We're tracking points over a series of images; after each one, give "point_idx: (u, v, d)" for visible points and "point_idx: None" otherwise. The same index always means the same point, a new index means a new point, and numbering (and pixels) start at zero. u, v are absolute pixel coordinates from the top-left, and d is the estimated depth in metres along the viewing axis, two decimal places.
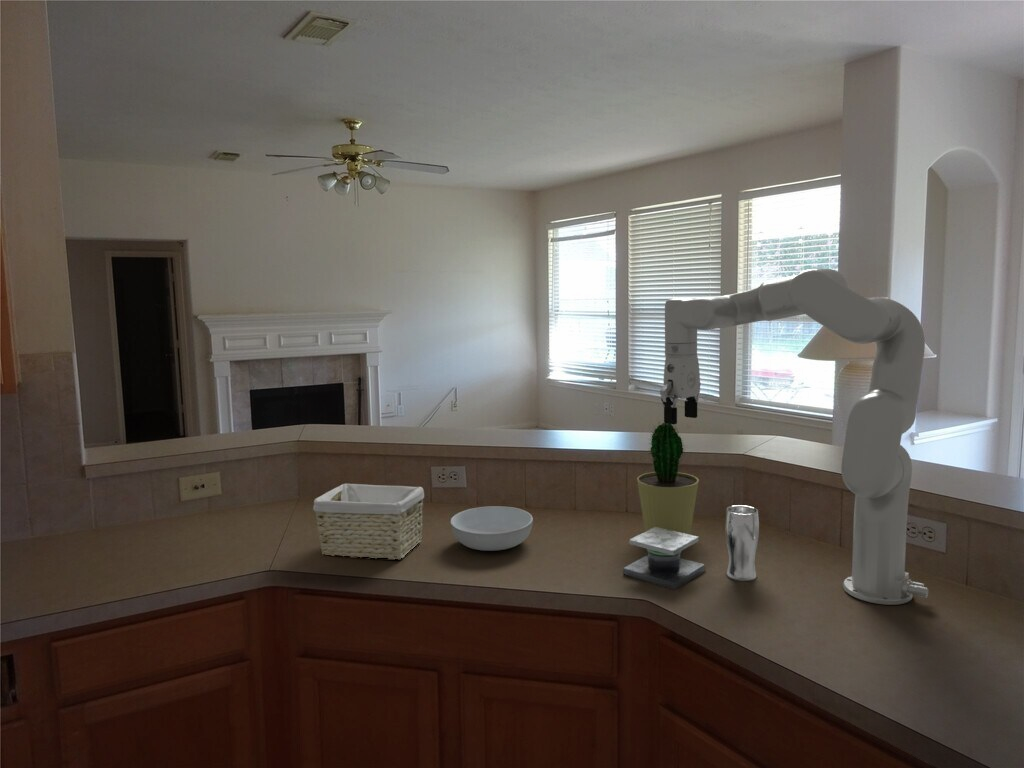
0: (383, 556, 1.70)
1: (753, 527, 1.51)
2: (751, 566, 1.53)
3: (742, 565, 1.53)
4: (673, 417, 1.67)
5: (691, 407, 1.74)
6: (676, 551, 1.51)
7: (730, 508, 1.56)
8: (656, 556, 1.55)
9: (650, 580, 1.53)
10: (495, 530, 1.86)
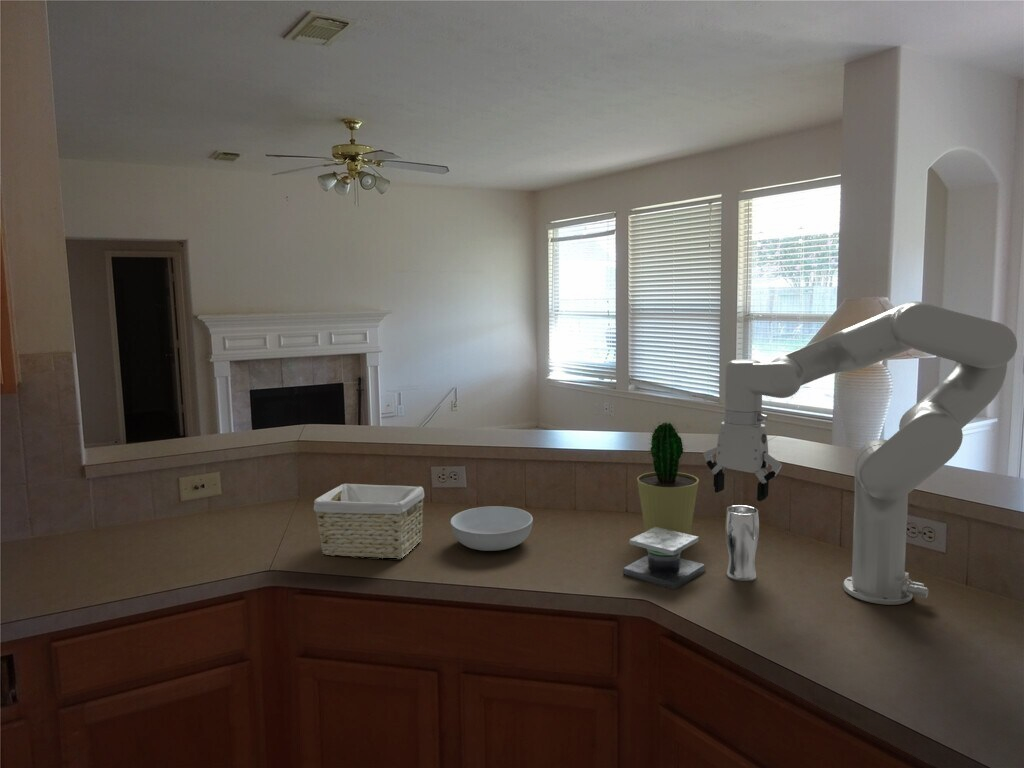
0: (384, 556, 1.71)
1: (753, 527, 1.51)
2: (751, 566, 1.53)
3: (742, 565, 1.53)
4: None
5: (722, 479, 1.56)
6: (676, 551, 1.51)
7: (730, 508, 1.56)
8: (656, 556, 1.55)
9: (650, 580, 1.53)
10: (495, 530, 1.86)
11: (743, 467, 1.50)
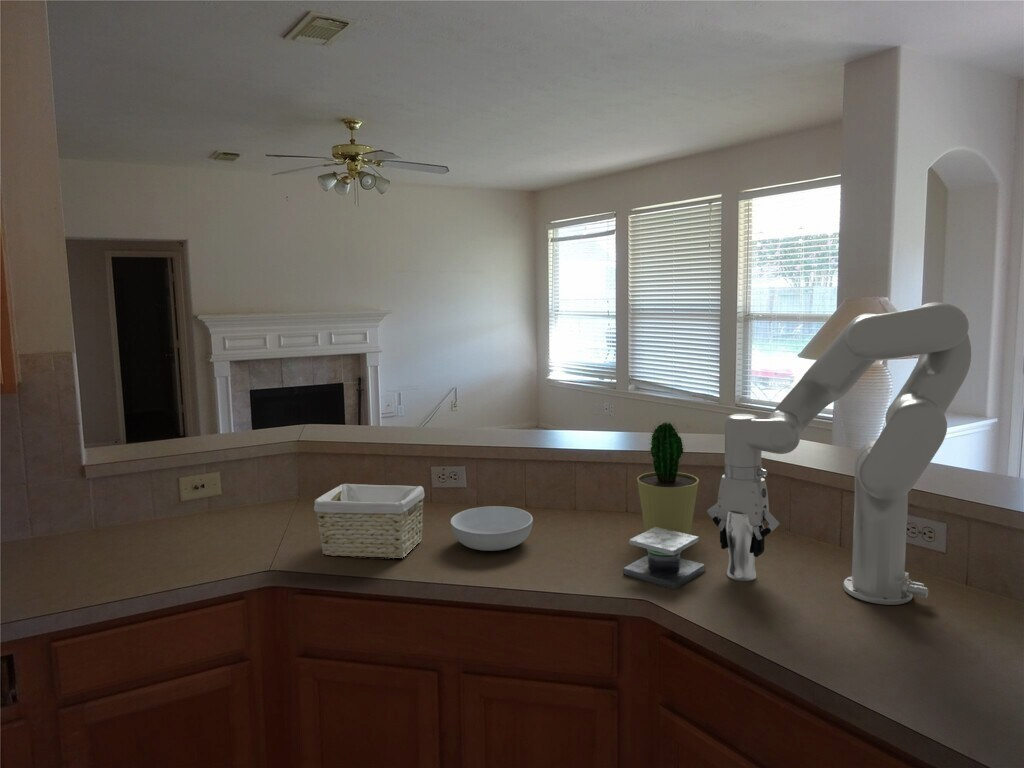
0: (385, 555, 1.71)
1: None
2: (751, 566, 1.53)
3: (742, 565, 1.53)
4: None
5: None
6: (676, 551, 1.51)
7: None
8: (656, 556, 1.55)
9: (650, 580, 1.53)
10: (495, 530, 1.86)
11: None
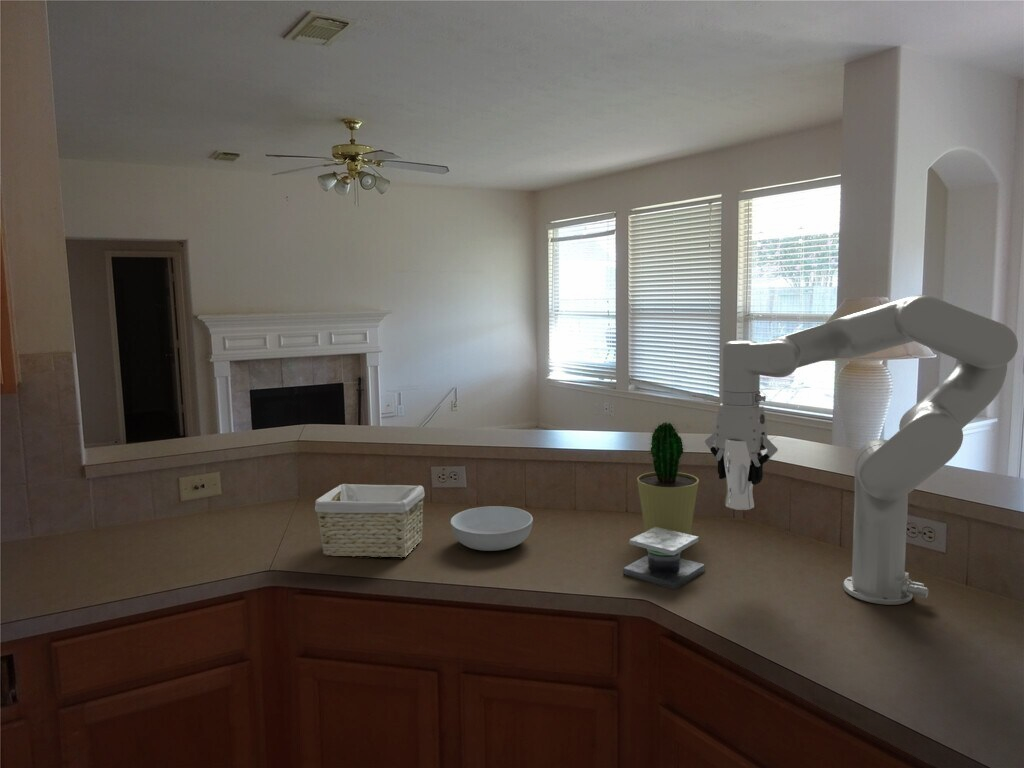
0: (387, 555, 1.71)
1: None
2: (749, 495, 1.51)
3: (740, 494, 1.51)
4: None
5: None
6: (676, 551, 1.51)
7: None
8: (656, 556, 1.55)
9: (650, 580, 1.53)
10: (495, 530, 1.86)
11: None
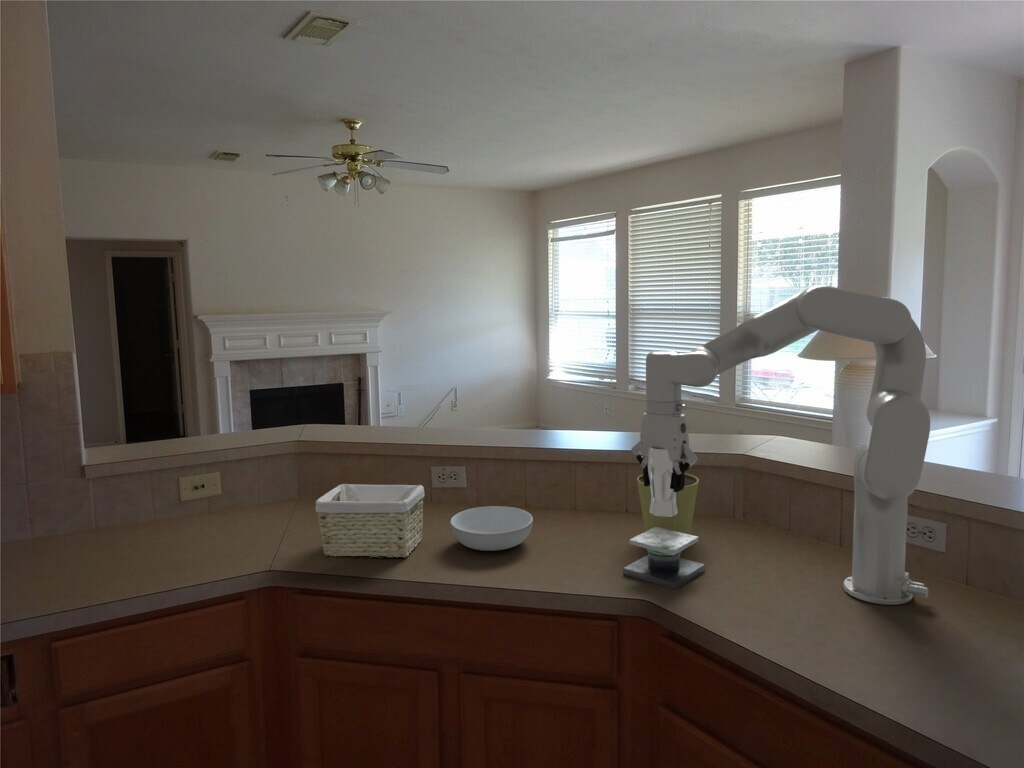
0: (388, 555, 1.71)
1: None
2: (672, 502, 1.54)
3: (663, 501, 1.54)
4: None
5: None
6: (676, 551, 1.51)
7: None
8: (656, 556, 1.55)
9: (650, 580, 1.53)
10: (495, 530, 1.86)
11: None
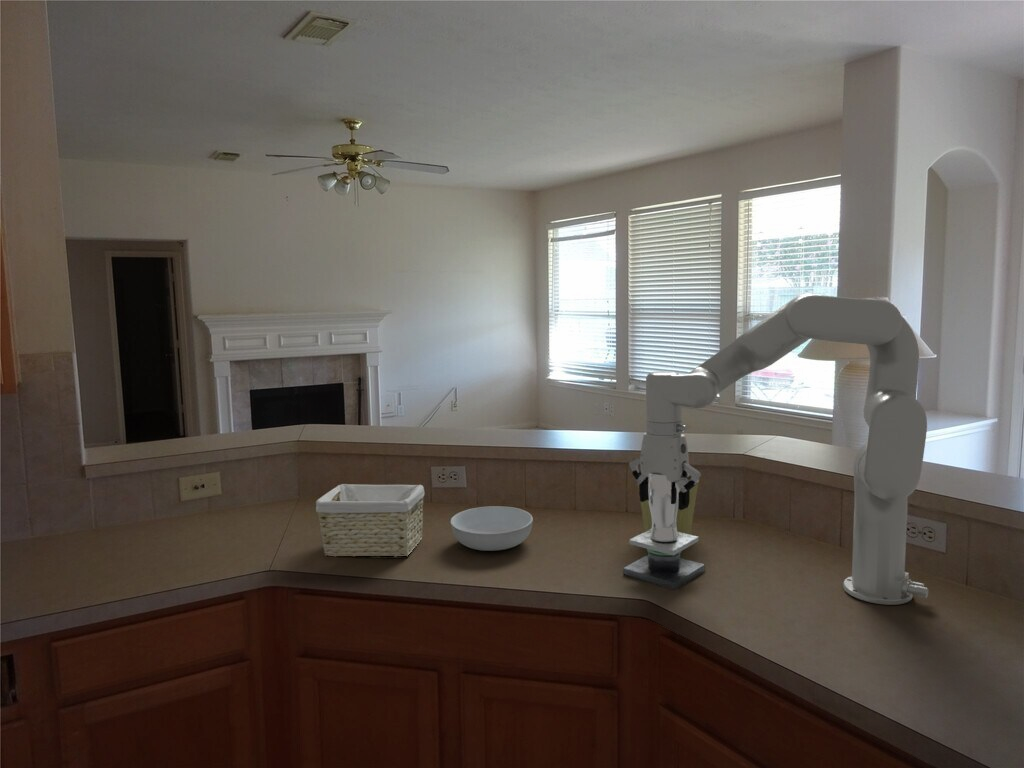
0: (389, 554, 1.71)
1: (672, 487, 1.53)
2: (672, 527, 1.55)
3: (664, 526, 1.55)
4: None
5: None
6: (676, 551, 1.51)
7: None
8: (656, 556, 1.55)
9: (650, 580, 1.53)
10: (495, 530, 1.86)
11: None
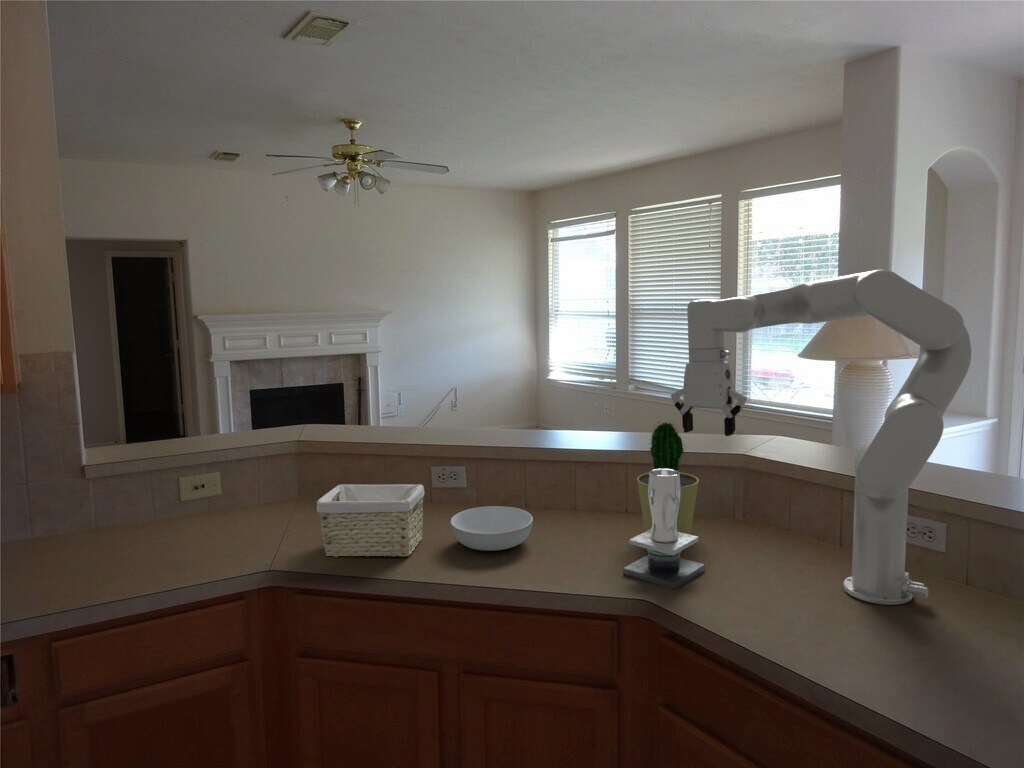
0: (391, 554, 1.72)
1: (674, 489, 1.53)
2: (673, 528, 1.55)
3: (664, 527, 1.55)
4: None
5: (690, 420, 1.59)
6: (676, 551, 1.51)
7: (653, 471, 1.58)
8: (656, 556, 1.55)
9: (650, 580, 1.53)
10: (495, 530, 1.86)
11: (709, 404, 1.53)
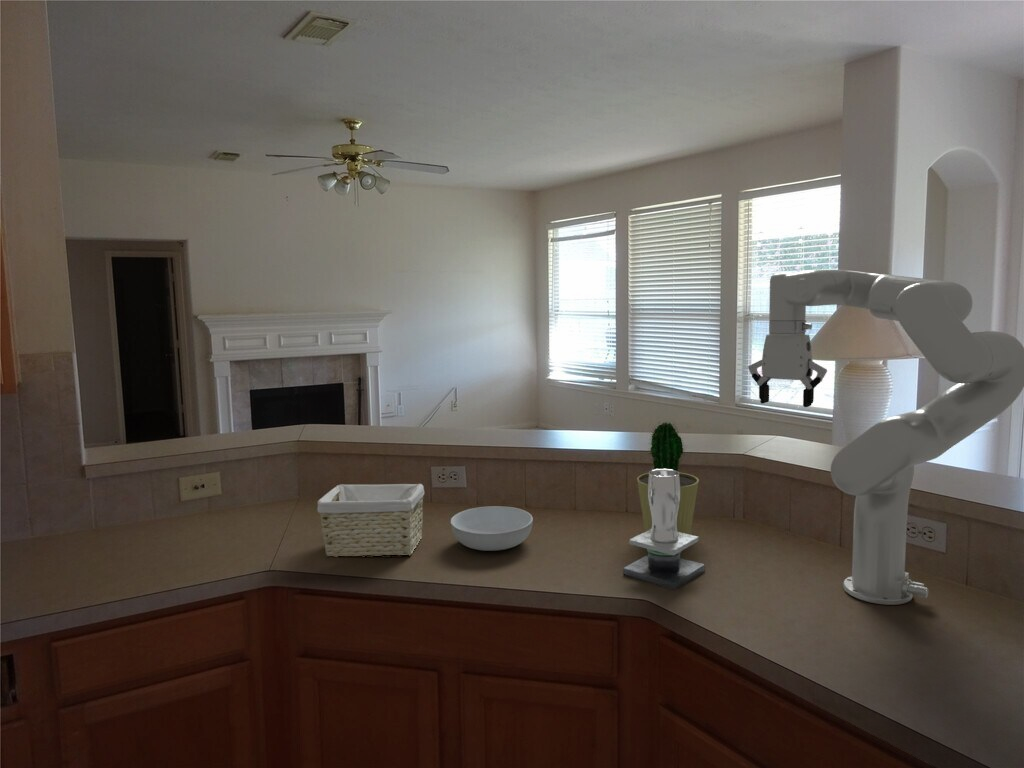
0: (392, 553, 1.72)
1: (673, 489, 1.53)
2: (673, 528, 1.55)
3: (664, 527, 1.55)
4: None
5: (767, 391, 1.62)
6: (676, 551, 1.51)
7: (653, 471, 1.58)
8: (656, 556, 1.55)
9: (650, 580, 1.53)
10: (495, 530, 1.86)
11: (789, 375, 1.56)
